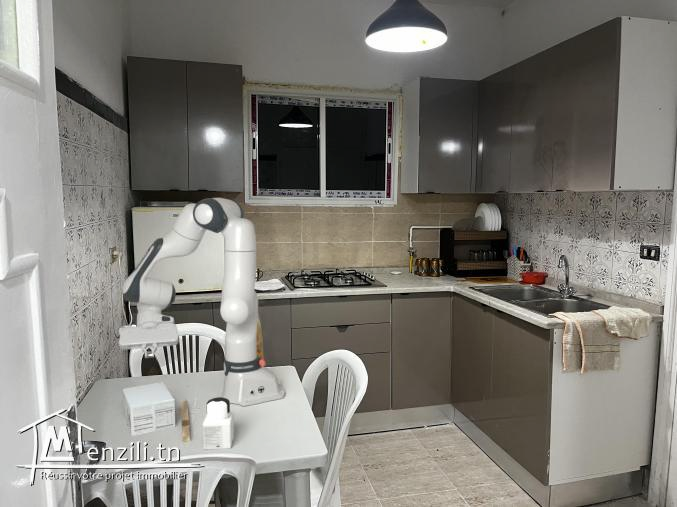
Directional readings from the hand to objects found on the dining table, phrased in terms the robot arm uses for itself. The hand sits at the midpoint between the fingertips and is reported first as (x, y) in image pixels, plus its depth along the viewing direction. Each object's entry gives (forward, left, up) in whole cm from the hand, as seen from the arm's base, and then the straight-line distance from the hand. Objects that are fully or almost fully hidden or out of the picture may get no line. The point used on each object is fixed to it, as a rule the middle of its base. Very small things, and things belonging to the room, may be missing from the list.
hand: (149, 356), depth 178 cm
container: (-20, +43, -15) cm, 49 cm away
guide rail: (-11, +26, -15) cm, 32 cm away
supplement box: (0, +21, -15) cm, 26 cm away
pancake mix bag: (-36, -7, -15) cm, 40 cm away
